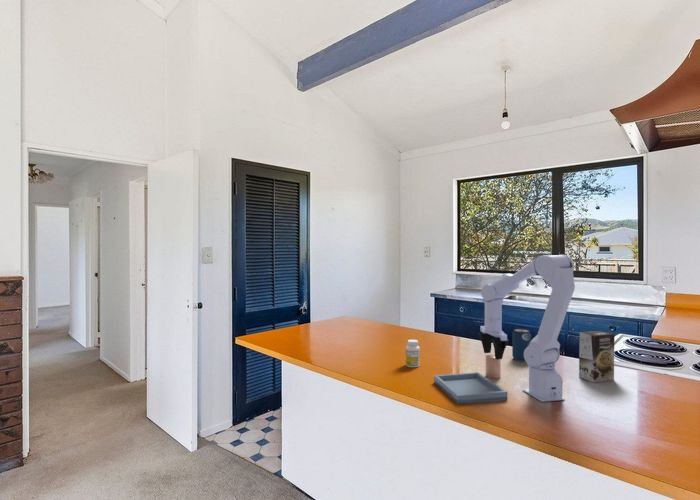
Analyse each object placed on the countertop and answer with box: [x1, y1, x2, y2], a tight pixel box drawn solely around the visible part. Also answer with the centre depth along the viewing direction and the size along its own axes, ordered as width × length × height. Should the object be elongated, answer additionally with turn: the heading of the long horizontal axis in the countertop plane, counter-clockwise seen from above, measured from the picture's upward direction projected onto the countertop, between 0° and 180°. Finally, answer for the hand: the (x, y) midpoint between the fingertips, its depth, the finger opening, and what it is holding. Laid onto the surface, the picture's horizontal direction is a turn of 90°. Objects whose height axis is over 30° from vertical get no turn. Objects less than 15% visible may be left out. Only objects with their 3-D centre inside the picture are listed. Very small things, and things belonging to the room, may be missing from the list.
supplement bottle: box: [405, 339, 421, 368], centre depth 150 cm, size 5×5×10 cm
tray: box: [433, 371, 508, 405], centre depth 124 cm, size 18×16×2 cm
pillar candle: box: [485, 354, 502, 380], centre depth 138 cm, size 5×5×7 cm
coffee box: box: [578, 330, 615, 384], centre depth 135 cm, size 9×6×16 cm
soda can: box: [511, 328, 532, 363], centre depth 157 cm, size 7×7×12 cm
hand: (492, 355), depth 138 cm, fingers open, 7 cm apart
